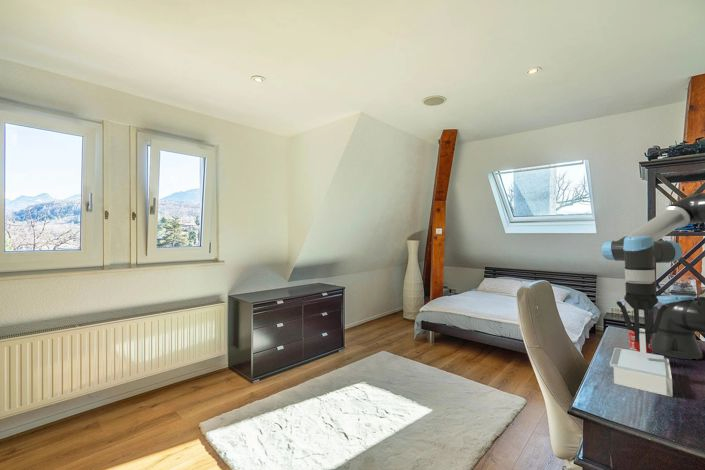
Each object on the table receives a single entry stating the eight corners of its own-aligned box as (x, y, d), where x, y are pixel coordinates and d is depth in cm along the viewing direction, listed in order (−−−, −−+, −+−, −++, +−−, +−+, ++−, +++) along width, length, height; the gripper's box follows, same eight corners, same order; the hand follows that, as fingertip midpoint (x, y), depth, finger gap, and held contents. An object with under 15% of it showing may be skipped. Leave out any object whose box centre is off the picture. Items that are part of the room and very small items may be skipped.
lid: (663, 358, 110) (663, 355, 110) (666, 378, 94) (666, 375, 94) (614, 349, 119) (614, 347, 119) (609, 366, 103) (609, 363, 103)
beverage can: (656, 365, 116) (655, 332, 116) (636, 364, 117) (635, 331, 118) (644, 359, 122) (644, 327, 123) (625, 358, 124) (625, 327, 124)
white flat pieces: (669, 373, 109) (668, 358, 109) (672, 396, 93) (672, 379, 93) (618, 363, 118) (618, 350, 118) (613, 383, 102) (613, 367, 102)
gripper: (666, 281, 106) (670, 353, 106) (615, 279, 115) (618, 345, 114) (667, 284, 100) (671, 360, 100) (614, 282, 109) (617, 351, 109)
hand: (643, 352), depth 107 cm, fingers closed
